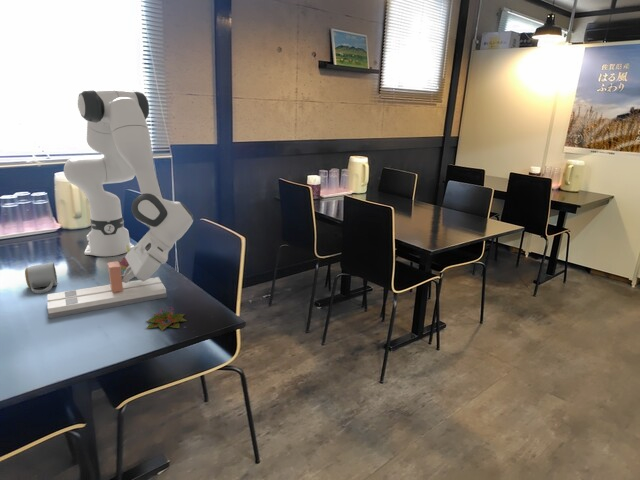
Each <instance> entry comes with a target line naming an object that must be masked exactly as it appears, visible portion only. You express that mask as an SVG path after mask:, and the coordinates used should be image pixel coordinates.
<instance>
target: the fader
mask: <svg viewBox="0 0 640 480" xmlns="http://www.w3.org/2000/svg"><path fill="white" fill-rule="evenodd" d="M119 262H120V261H118V260H116V261H109V262H107V267H108V269H107V270H108V278H109V285H110V287H111V290H112V292H117V291H123V286H122V283H123V281H122V268H121V266H120V264H119Z"/></svg>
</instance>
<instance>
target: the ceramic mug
mask: <svg viewBox="0 0 640 480" xmlns="http://www.w3.org/2000/svg"><path fill="white" fill-rule="evenodd" d="M24 275H25V276H24V277H25V282H26V284H27V285H26V286H27V287H28V288H29V289H31V292H32V293H34V294H47V293H48V292H49V291H51V289H52V288H53V287H56V286H57V285H58V275H57V271H56V265H55V263H54V262H53V261H51V262H47V263H41V264H36V265H30V266H28V267H26V268H25V270H24ZM38 288H43V289H38Z"/></svg>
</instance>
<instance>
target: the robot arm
mask: <svg viewBox="0 0 640 480" xmlns="http://www.w3.org/2000/svg"><path fill="white" fill-rule="evenodd" d="M77 98H78V99H77V108H78V111H79V113H80V115H81V117H82V118H83V119H84V120H85V121H87V124H86V143H87V145H88V146H89V147H90V148H91V149H92V150H93V151H95V152H96V153H99V154H100V155H82V156H81V155H80V156H76V157H72V158H69V159H67V160H66V161H65V163H64V165H63V173H64V177H65V179H66V180H67V181H68V182H69V183H70V184H71V185H73V186H75V187H77V188H78V189H80V190H81V192H82V193H83V195H84V196H86V199H87V200H88V206H89V210H90V217H91V218H90V221H89V222H90V228H91V230H90V231H89V232H88V234H86V241H88V242H87V245H86V248H85V250H84V255H85V256H87V255H88V256H89V255H90V256H96V257H112V256H113V257H114V256H119V255H122V254H126V255H125V256H124V258H126V260H127V262H128V264H129V266H128V267H127V269H126V270H125V271H123V273H122V274H121V276H122V283H123V282H125V283H127V282H129V281H131V279H134V278H136V279H137V280H141V281H146V280H147V279H149V278H152V276H153V275H154V274H155V273H156V272H157V270H158V269H159V268H160V267H161V265H165V264H166V262H167V261H169V253H170V251H171V249H172V248H173V247H174V245H175V243H177V242H178V241H179V240H180V239H181V238H182V237H183V236H185V234H186V232H187V231H188V230H189V228H190V227H191V225H193V222H194V215H193V213H192V211H190V209H188V207H187V206H186V205H185V204H184V203H183V202H181V201H174V200H173V201H172V200H169V199H166V198H164V197H163V194H162V191H161V188H160V184H159V181H158V176H157V173H156V169H155V163H154V157H153V156H154V155H153V147H152V141H151V136H150V131H149V127H148V123H147V118H149V115H150V105H149V101H148V98H147V97H146V96H145V94H144V93H142V92H140V91H136V90H126V89H119V88H118V89H117V88H112V89H110V88H102V89H101V88H98V89H94V88H87V89H82V90H81V91H80V92H79V94H78V97H77ZM135 177H136V181H137V184H138V187H139V191H140V194H139V195H137V196H136V197H135V198H134V199H133V200H132V204H131V209H130V210H131V213H132V215H133V217H134V218H135V219H136V220H137V221H138V222H140V223H142V224H143V225H145V226H146V227H148V228H149V230H148V231H147V232H146V234H144V235H143V236H142V238H141V239H140V240H139V241H138V242H137V243H136V244H135V245H134V244H133V243H132V242H131V241H130V240H131V239H130V234H129V230H128V229H127V228H126V227H125V223H124V222H125V220H124V217H123V216H122V215H123V214H122V205H121V199H120V197H118V196H117V194H114V193H113V192H110V191H107V190H105V189H104V186H103V185H107V184H118V183H119V184H120V183H124V182H128V181H131V180H133V179H134V178H135ZM127 246H128V247H129V252H127V248H126V247H127Z"/></svg>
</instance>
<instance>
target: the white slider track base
mask: <svg viewBox="0 0 640 480" xmlns="http://www.w3.org/2000/svg"><path fill="white" fill-rule="evenodd" d="M122 286H123V291H117V292H112V290H111V287H110V284H106V285H97V286H91V287H86V288H84V287H83V288H80V289H79V288H78V289H73V290H67V291H60V292H54V293H53V292H52V293H48V294H47V293H46V294H47V295H46V296H47V298H46V299H47V314H48V318H49V319H55V318H60V317H64V316H65V317H66V316H70V315H75V314H81V313H88V312H94V311H99V310H104V309H109V308H114V307H120V306H125V305H130V304H137V303H142V302H148V301H153V300H158V299H164V298H167V288H166V287H165V285H164V284H163V282H162V280H161V278H160V277H159V276H156V277H150V278H149V279H147V280H146V281H141V280H140V279H137V280H136V279H135V280H129V281H128V282H127V283H125V282H123V281H122Z"/></svg>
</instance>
